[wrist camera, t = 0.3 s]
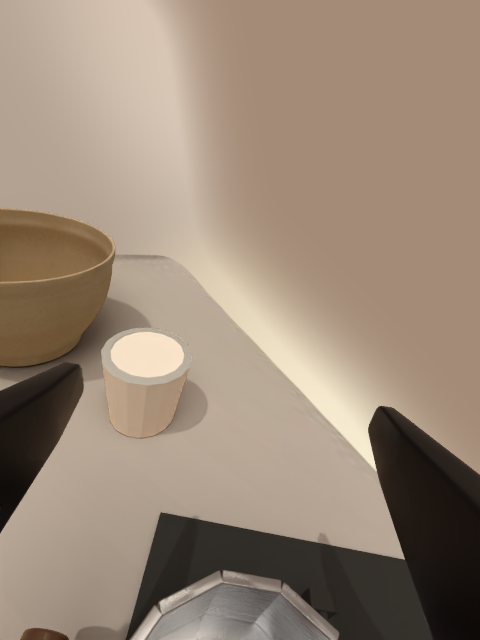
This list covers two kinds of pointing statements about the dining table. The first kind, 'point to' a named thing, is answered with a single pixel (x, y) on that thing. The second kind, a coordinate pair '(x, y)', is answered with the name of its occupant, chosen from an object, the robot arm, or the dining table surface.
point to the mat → (287, 576)
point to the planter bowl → (49, 283)
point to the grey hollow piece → (226, 613)
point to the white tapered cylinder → (144, 379)
